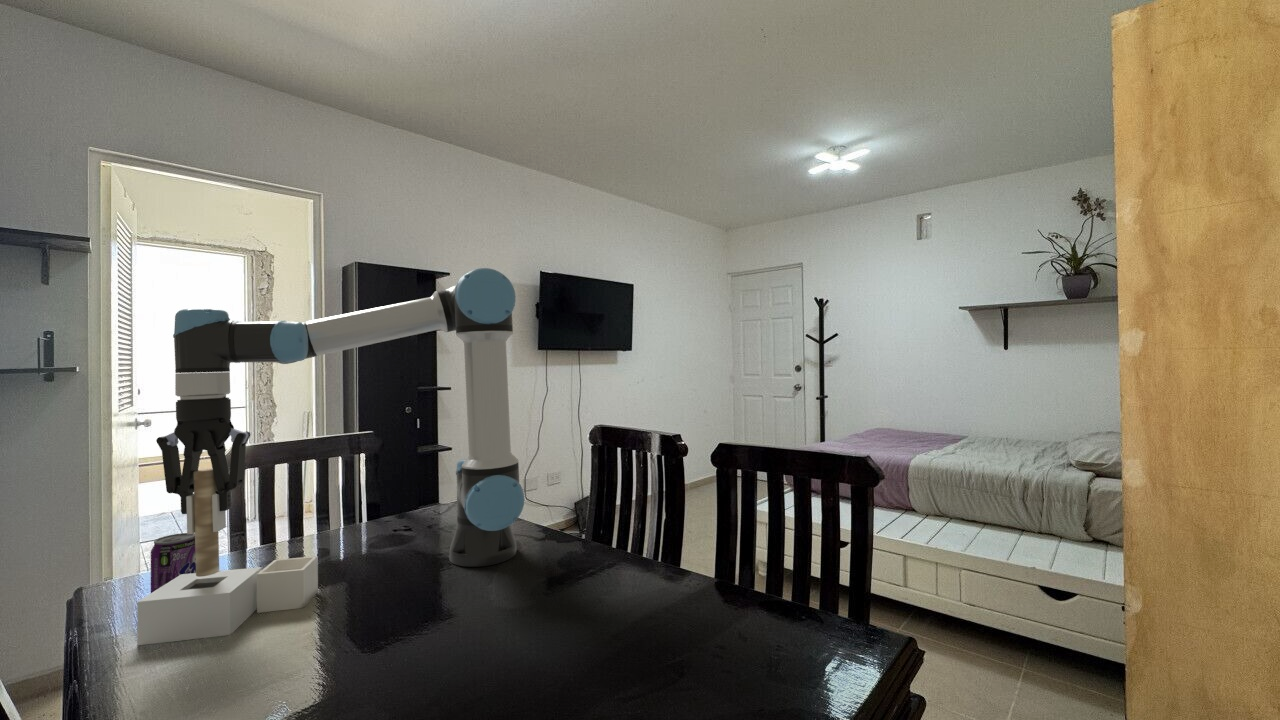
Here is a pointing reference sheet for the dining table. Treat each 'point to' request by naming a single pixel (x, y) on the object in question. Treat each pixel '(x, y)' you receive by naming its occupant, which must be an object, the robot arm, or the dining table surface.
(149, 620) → the box
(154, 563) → the beverage can
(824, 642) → the dining table surface
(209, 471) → the wooden cylinder rod
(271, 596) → the pen cup
